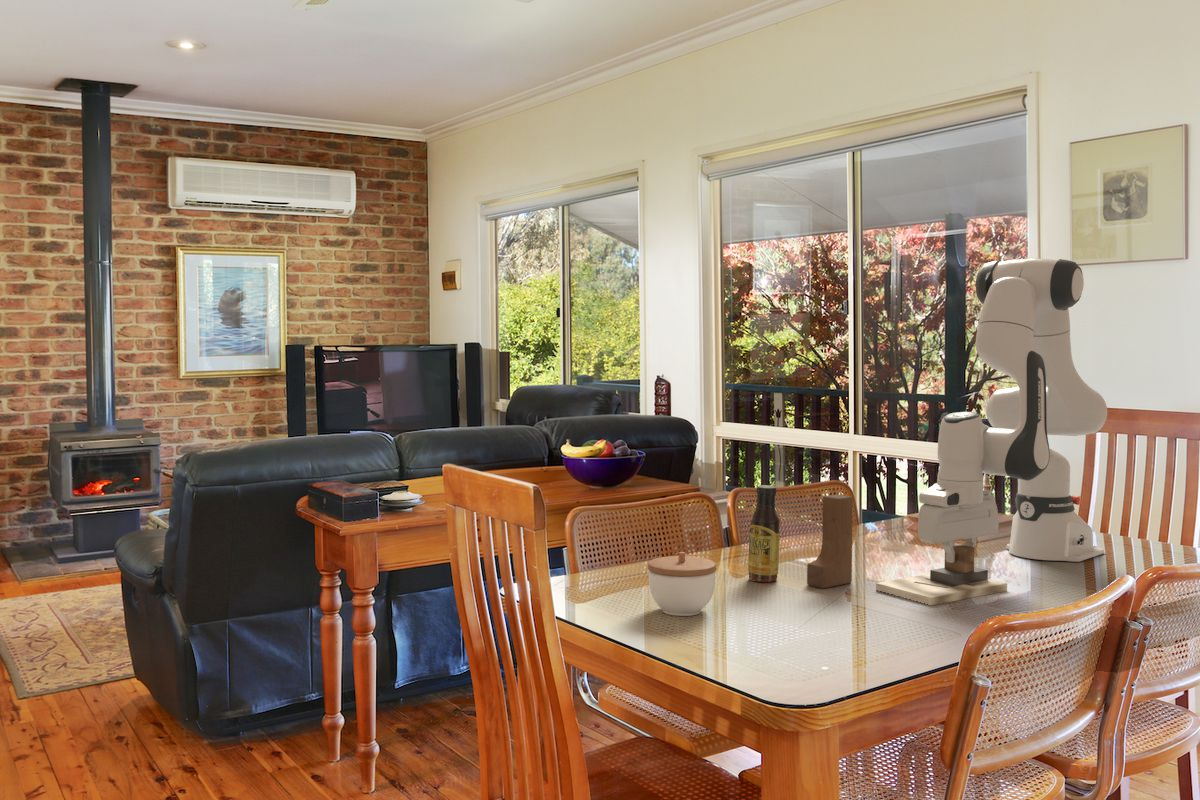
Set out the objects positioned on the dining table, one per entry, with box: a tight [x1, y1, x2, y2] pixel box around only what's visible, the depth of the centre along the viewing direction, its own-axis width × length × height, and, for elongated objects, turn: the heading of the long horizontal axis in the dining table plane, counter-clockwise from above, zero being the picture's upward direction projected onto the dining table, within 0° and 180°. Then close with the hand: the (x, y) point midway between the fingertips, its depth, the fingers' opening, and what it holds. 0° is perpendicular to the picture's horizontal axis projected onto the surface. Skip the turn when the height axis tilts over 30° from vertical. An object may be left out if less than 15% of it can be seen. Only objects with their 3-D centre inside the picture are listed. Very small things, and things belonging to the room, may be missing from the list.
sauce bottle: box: [747, 484, 781, 584], centre depth 218 cm, size 6×6×20 cm
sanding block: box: [929, 542, 989, 586], centre depth 211 cm, size 10×6×7 cm, turn 121°
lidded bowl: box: [647, 551, 717, 617], centre depth 194 cm, size 13×13×11 cm
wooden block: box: [806, 494, 853, 590], centre depth 215 cm, size 9×4×18 cm, turn 126°
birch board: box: [875, 573, 1008, 606], centre depth 209 cm, size 22×14×2 cm, turn 121°
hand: (958, 560), depth 212 cm, fingers closed on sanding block, 3 cm apart
